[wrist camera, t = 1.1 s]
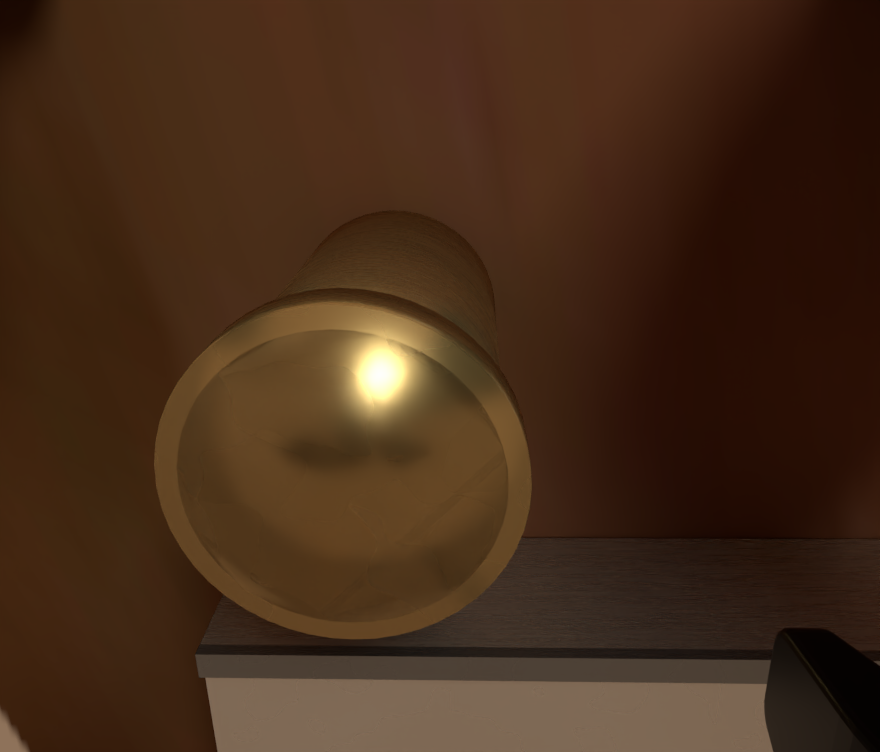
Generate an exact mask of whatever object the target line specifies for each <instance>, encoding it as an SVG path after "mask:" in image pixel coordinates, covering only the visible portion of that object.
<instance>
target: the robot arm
mask: <svg viewBox="0 0 880 752" xmlns="http://www.w3.org/2000/svg"><path fill="white" fill-rule="evenodd" d="M764 713H765V721H766V726H767V731H768V734H769V738H770V742H771V745H772V749H773V752H880V665H878V664H877V663H875V662H874V661H873V660H871V659H870V658H868V657H867V656H865V655H864V654H863V653H861V652H860V651H858V650H857V649H856V648H854V647H853V646H851V645H850V644H849V643H847V642H846V641H844V640H843V639H841V638H840V637H839V636H837V635H836V634H834V633H833V632H831V631H829V630H826V629H822V628H784V629H782V630H781V631H779V632H778V634H777V636H776V638H775V641H774V645H773V651H772V657H771V663H770V669H769V674H768V680H767V686H766V692H765V698H764Z"/></svg>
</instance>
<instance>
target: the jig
mask: <svg viewBox="0 0 880 752" xmlns="http://www.w3.org/2000/svg"><path fill="white" fill-rule="evenodd" d="M784 628H822V629H826V630H829V631H831V632H833V633H834V634H836V635H837V636H839V637H840V638H841V639H843V640H844V641H846V642H847V643H849V644H850V645H851V646H853V647H854V648H856V649H857V650H858V651H860V652H861V653H863V654H864V655H865V656H867V657H868V658H870V659H871V660H873V661H874V662H875V663H877V664H878V665H880V539H645V538H521V539H520V541H519V544H518V546H517V549H516V550H515V552H514V554H513V555H512V557H511V559H510V560H509V562H508V564H507V565H506V567H505V568H504V570H503V571H502V572H501V573H500V575H499V576H498V577H497V578H496V579H495V581H494V582H493V583H492V584H491V585H490V586H489V587H488V588H487V589H486V590H485V591H484V592H483V593H482V594H481V595H479V596H478V597H477V598H476V599H475V600H473V601H472V602H471V603H469V604H468V605H467V606H465V607H464V608H462V609H461V610H460V611H458V612H456V613H454V614H452V615H451V616H449V617H447V618H445V619H443V620H441V621H439V622H437V623H434V624H432V625H429V626H427V627H424V628H422V629H419V630H415V631H412V632H408V633H404V634H401V635H396V636H389V637H383V638H376V639H338V638H328V637H322V636H316V635H310V634H306V633H302V632H299V631H295V630H292V629H288V628H285V627H283V626H280V625H277V624H275V623H272V622H270V621H267V620H265V619H263V618H261V617H259V616H257V615H255V614H254V613H252V612H250V611H248V610H246V609H244V608H243V607H241V606H240V605H238V604H237V603H235V602H234V601H232V600H231V599H229V598H228V597H226V596H225V595H224V594H223V596H222V598H221V600H220V602H219V604H218V607H217V609H216V611H215V613H214V615H213V617H212V619H211V622H210V624H209V626H208V628H207V630H206V632H205V635H204V637H203V639H202V641H201V643H200V645H199V647H198V650H197V652H196V654H195V656H196V662H197V668H198V674H199V678H205V679H206V685H207V691H208V697H209V703H210V709H211V715H212V721H213V727H214V733H215V739H216V745H217V751H218V752H773V749H772V745H771V742H770V738H769V734H768V731H767V726H766V721H765V713H764V698H765V692H766V686H767V680H768V674H769V669H770V663H771V657H772V651H773V645H774V641H775V638H776V636H777V634H778V632H779V631H781V630H782V629H784Z"/></svg>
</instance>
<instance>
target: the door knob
mask: <svg viewBox="0 0 880 752" xmlns="http://www.w3.org/2000/svg"><path fill="white" fill-rule="evenodd" d="M154 467H155V477H156V487H157V491H158V495H159V499H160V503H161V507H162V510H163V513H164V515H165V518H166V520H167V523H168V525H169V528H170V530H171V531H172V533H173V535H174V537H175V539H176V540H177V542H178V544H179V546H180V548H181V549H182V550H183V552H184V553H185V554H186V556H187V557H188V558H189V560H190V561H191V563H192V564H193V565H194V566H195V567H196V569H197V570H198V571H199V572H200V573H201V574H202V575H203V576H204V577H205V578H206V579H207V580H208V581H209V582H210V583H211V584H212V585H213V586H215V587H216V588H217V589H218V590H219V591H220V592H222V593H223V594H224V595H225V596H226V597H228V598H229V599H231V600H232V601H234V602H235V603H237V604H238V605H240V606H241V607H243V608H244V609H246V610H248V611H250V612H252V613H254V614H255V615H257V616H259V617H261V618H263V619H265V620H267V621H270V622H272V623H275V624H277V625H280V626H283V627H285V628H288V629H292V630H295V631H299V632H302V633H306V634H310V635H316V636H322V637H328V638H338V639H376V638H383V637H389V636H396V635H401V634H404V633H408V632H412V631H415V630H419V629H422V628H424V627H427V626H429V625H432V624H434V623H437V622H439V621H441V620H443V619H445V618H447V617H449V616H451V615H452V614H454V613H456V612H458V611H460V610H461V609H462V608H464V607H465V606H467V605H468V604H469V603H471V602H472V601H473V600H475V599H476V598H477V597H478V596H479V595H481V594H482V593H483V592H484V591H485V590H486V589H487V588H488V587H489V586H490V585H491V584H492V583H493V582H494V581H495V579H496V578H497V577H498V576H499V575H500V573H501V572H502V571H503V570H504V568H505V567H506V565H507V564H508V562H509V560H510V559H511V557H512V555H513V554H514V552H515V550H516V549H517V546H518V544H519V541H520V539H521V537H522V534H523V532H524V529H525V525H526V521H527V517H528V513H529V509H530V500H531V490H532V482H531V464H530V457H529V449H528V442H527V436H526V431H525V426H524V421H523V416H522V413H521V411H520V408H519V405H518V402H517V399H516V397H515V395H514V393H513V391H512V389H511V387H510V385H509V383H508V381H507V379H506V377H505V376H504V374H503V373H502V371H501V370H500V366H499V354H498V341H497V328H496V316H495V303H494V294H493V289H492V284H491V281H490V278H489V275H488V272H487V270H486V268H485V266H484V264H483V262H482V260H481V259H480V257H479V256H478V254H477V253H476V251H475V250H474V249H473V248H472V246H471V245H470V244H469V243H468V242H467V241H466V240H465V239H464V238H463V237H462V236H460V235H459V234H458V233H457V232H456V231H454V230H453V229H451V228H450V227H448V226H447V225H445V224H444V223H441V222H439V221H437V220H435V219H433V218H431V217H427V216H424V215H421V214H418V213H412V212H407V211H381V212H375V213H371V214H366V215H363V216H361V217H358V218H355V219H353V220H351V221H349V222H347V223H345V224H343V225H342V226H340V227H339V228H337V229H336V230H335V231H333V232H332V233H331V234H330V235H329V236H328V237H327V238H325V239H324V240H323V241H322V243H321V244H320V245H319V246H318V248H317V249H316V250H315V251H314V252H313V254H312V255H311V256H310V257H309V259H308V260H307V261H306V262H305V264H304V265H303V266H302V267H301V269H300V270H299V271H298V272H297V273H296V275H295V276H294V277H293V278H292V280H291V281H290V282H289V283H288V285H287V286H286V287H285V288H284V290H283V291H282V292H281V293H280V294H279V296H278V297H277V298H276V299H275V300H273V301H270V302H267V303H265V304H264V305H262V306H260V307H258V308H256V309H254V310H252V311H250V312H248V313H246V314H245V315H243V316H242V317H241V318H239V319H238V320H236V321H235V322H234V323H232V324H231V325H229V326H228V327H227V328H226V329H225V330H224V331H223V332H222V333H221V334H220V335H218V336H217V337H216V338H215V339H214V340H213V341H212V342H211V343H210V344H209V345H208V347H207V348H206V349H205V350H204V351H203V352H202V353H201V354H200V355H199V356H198V358H197V359H196V360H195V361H194V362H193V363H192V364H191V366H190V367H189V368H188V369H187V371H186V372H185V373H184V375H183V376H182V377H181V379H180V380H179V381H178V383H177V385H176V386H175V388H174V390H173V392H172V394H171V395H170V397H169V399H168V401H167V403H166V406H165V409H164V412H163V414H162V417H161V420H160V423H159V428H158V433H157V438H156V443H155V461H154Z"/></svg>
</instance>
